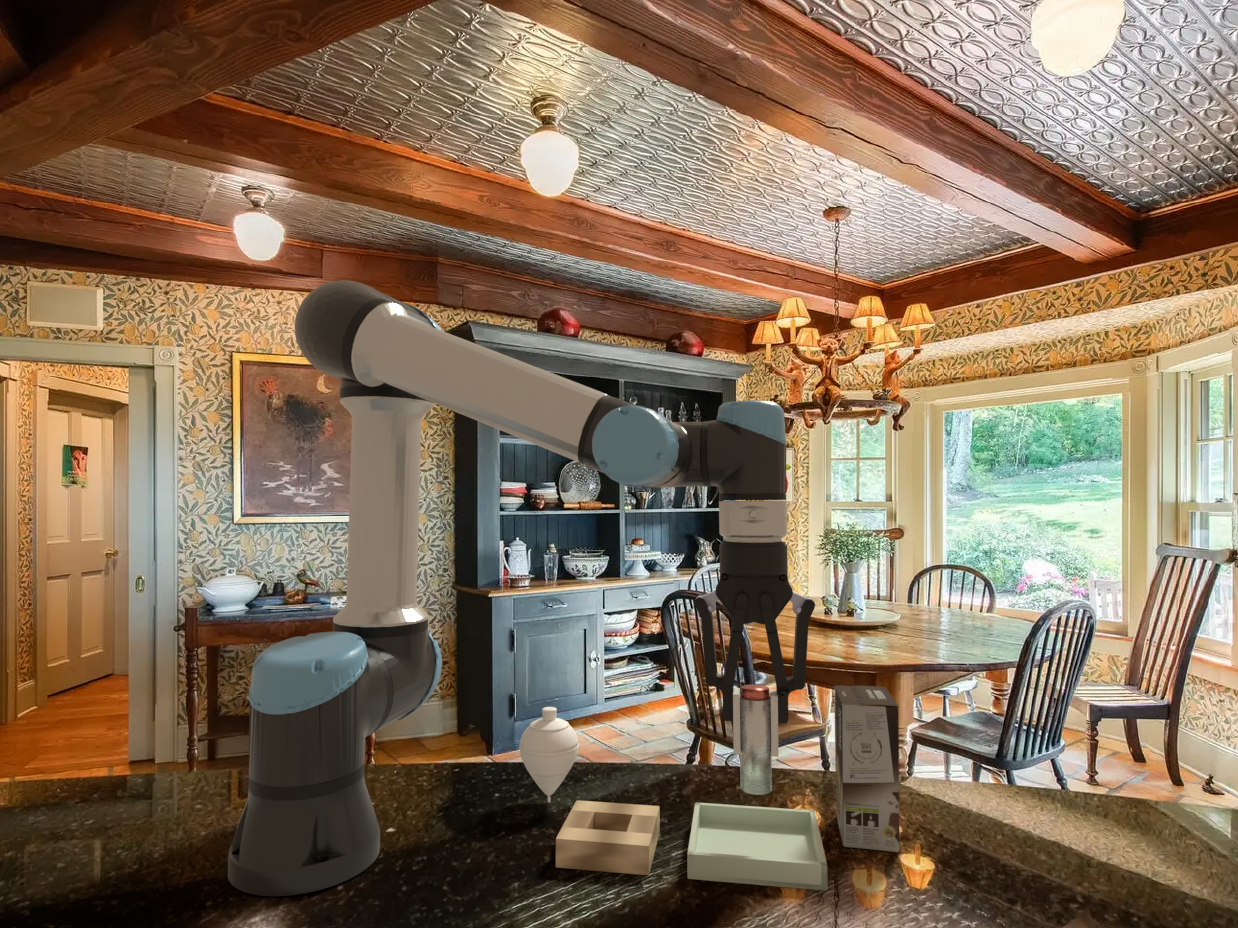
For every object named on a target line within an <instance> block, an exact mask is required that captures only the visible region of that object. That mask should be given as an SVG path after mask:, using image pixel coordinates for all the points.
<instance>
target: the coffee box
mask: <svg viewBox="0 0 1238 928" xmlns="http://www.w3.org/2000/svg"><path fill="white" fill-rule="evenodd" d="M833 687H834V688H833V690H834V691H833V693H834V701H833V702H834V753H835V754H834V755H835V756H834V759H835V761H834V762H835V764H834V765H835V801H836V803H835V808H836V809H835V810H836V813H835V814H836V815H835V817H836V819H837V820H836V821H837V824H838V830H839V835H840V838H841V842H842V846H843V847H844V848H854V849H862V850H863V849H865V850H871V851H881V852H882V851H885V852H889V853H890V852H893V853H899V852H900V850H901V849H900V848H901V847H900V846H901V845H900V837H901V836H900V835H901V833H900V832H901V831H900V781H899V780H900V744H899V743H900V737H899V735H900V733H899V732H900V729H899V727H900V726H899V716H900V715H899V709H900V706H899V704H898V703H897V702H896V700H895V699H894V697H893V696H892V694H891V693H890V692H889V690H888V688H887V687H886V686H879V685H878V686H877V685H876V686H875V685H874V686H873V685H837V684H836V685H834V686H833Z"/></svg>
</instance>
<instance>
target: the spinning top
mask: <svg viewBox="0 0 1238 928" xmlns="http://www.w3.org/2000/svg"><path fill="white" fill-rule="evenodd" d="M557 710H558V709H557V708H556V707H554V706H546V707H542V708H541V712H542V717H541V718H538V719H536V720H535V719H534V721H532V722H530V723H529V725H528V726H527V728H526V729H525V730H524V731H523V733H522V735H521V737H520V740H519V745H518V747H519V748H518V749H519V755H520V758H521V760H522V762H523V764H524V767H525V768H526V771H527V772H528V773H529V775H530V777H531V778H532V779H533V781H534V782H535V784H536V785H537V786H538V788H539V789H540V790H541V791H542V792H543V793H544V795H546V796H547V801H546V802H547V803H551V796H552V795H554V793H555V792H556V791H557V789H558V788H559V787H560V786H561V784H562V783H563V782H564V780H565V778H566V776H567V775H568V774H569V772H570V771H571V769H572V767H573V765H574V763H575V761H576V759H577V756H578V753H579V747H580V743H579V737H578V735H577V733H576V731H575V729H574V728H573V726H571V725H570V723H569V722H568V721H567V720H565V719H564V718H563V719H562V718H559V717H557V713H558V712H557Z"/></svg>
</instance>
